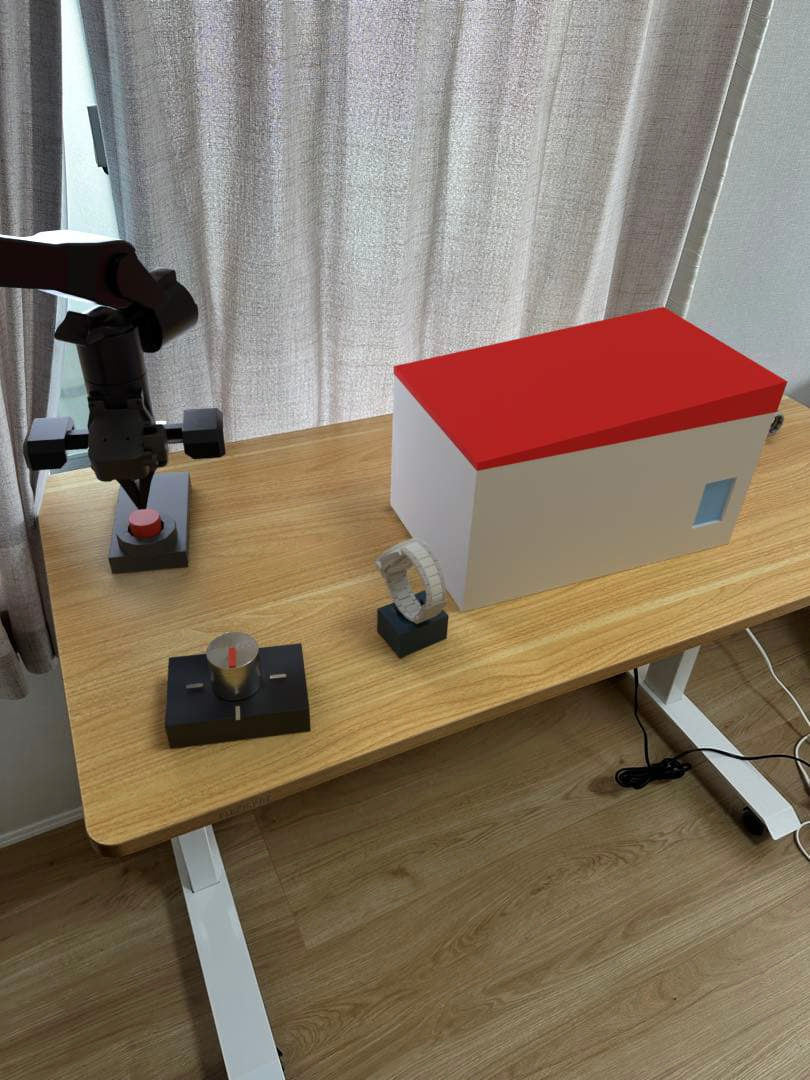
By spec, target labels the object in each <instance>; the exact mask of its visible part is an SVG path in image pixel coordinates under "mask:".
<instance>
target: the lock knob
mask: <svg viewBox="0 0 810 1080" xmlns="http://www.w3.org/2000/svg"><path fill="white" fill-rule="evenodd" d="M259 648H260V646H259V643H258V640H256V638H255V637H253V635H251V634H249V633H246V632H243V631H229V632H224V633H222V634H219V635H218V636H216V637H215V638H213V639H212V640H211V641H210V642H209V643H208V645H207V647H206V650H205V654H206V656H207V662H208V668H209V674H210V681H211V686H212V690H213V691H214V693H215V694H216V695H217V696H218V697H220V698H222V699H225V700H230V701H237V700H242V699H245V698H248V697H250V696H252V695H253V694H254V693H256V692H257V691H258V689H259V688H260V686H261V684H262V673H261V663H260V654H259Z"/></svg>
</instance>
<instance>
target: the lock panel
mask: <svg viewBox="0 0 810 1080" xmlns="http://www.w3.org/2000/svg"><path fill="white" fill-rule="evenodd" d="M259 654H260V663H261V673H262V684H261V686H260V688H259V689H258V691H257V692H256V693H254V694H253V695H252V696H250V697H248V698H245V699H242V700H237V701H230V700H225V699H222V698H220V697H218V696H217V695H216V694H215V693H214V691H213V690H212V686H211V681H210V674H209V668H208V662H207V656H206V653H198V654H197V653H196V654H187V655H179V656H170V657H168V665H167V682H166V699H165V717H164V719H165V720H164V729H165V733H166V738H167V742H168V747H169V749H170V750H173V749H179V748H188V747H195V746H202V745H212V744H217V743H219V744H220V743H226V742H235V741H243V740H251V739H258V738H259V739H260V738H264V737H265V738H266V737H274V736H282V735H289V734H297V733H305V732H311V730H312V729H311V727H312V726H311V712H310V701H309V693H308V686H307V678H306V670H305V662H304V661H305V660H304V652H303V644H302V643H300V642H299V643H290V644H282V645H271V646H262V647H259Z"/></svg>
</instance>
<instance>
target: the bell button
mask: <svg viewBox="0 0 810 1080" xmlns="http://www.w3.org/2000/svg"><path fill="white" fill-rule="evenodd" d="M128 520H129V525H130V529H131V533H132V535H133V536H134V537H138V538H147V537H152V536H154V535H157V534H159V533H160V532H161V530H162V526H161V520H160V515H159V513H158V512H157V511H156V510H154V509H144V510H143V509H142V510H137V511H135V512H133V513H132V514H131V515H130V516H129V519H128Z"/></svg>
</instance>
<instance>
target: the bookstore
mask: <svg viewBox="0 0 810 1080" xmlns="http://www.w3.org/2000/svg"><path fill="white" fill-rule="evenodd" d="M787 385H788V381H787V380H786V379H784V378H783V377H781V376H779V375H778V374H776V373H774V372H773V371H771V370H769V369H768V368H766V367H764V366H763V365H761V364H759V363H758V362H756V361H754V360H753V359H751V358H749V357H748V356H746V355H744V354H743V353H741V352H740V351H738V350H736V349H734V348H733V347H731V346H730V345H728V344H727V343H725V342H723V341H721V340H720V339H718V338H716V337H714V336H713V335H711V334H710V333H708V332H706V330H705V331H704V330H703V329H701V328H700V327H698V326H696V325H695V324H693V323H691V322H689V321H688V320H686V319H684V318H683V317H681V316H680V315H678V314H677V313H675V312H673V311H672V310H670V309H668V308H667V307H665V306H661V307H656V308H652V309H646V310H643V311H637V312H634V313H629V314H625V315H619V316H615V317H611V318H607V319H602V320H597V321H593V322H592V321H591V322H588V323H584V324H579V325H573V326H570V327H565V328H561V329H557V330H552V331H547V332H542V333H539V334H534V335H528V336H524V337H520V338H516V339H515V338H514V339H511V340H506V341H502V342H497V343H492V344H488V345H484V346H479V347H475V348H474V347H473V348H470V349H466V350H465V349H464V350H460V351H457V352H452V353H446V354H443V355H438V356H434V357H430V358H429V357H428V358H426V359H425V358H424V359H419V360H415V361H411V362H406V363H402V364H397V365H393V397H392V398H393V399H392V431H391V463H390V464H391V467H390V469H391V470H390V499H389V500H390V502H389V503H390V506H391V508H392V509H393V511H394V512H395V514H396V515H397V517H398V518H399V520H400V521H401V522H402V524H403V526H404V527H405V529H406V531H407V532H408V534H409V535H410V536H411V539H413V538H421V539H422V541H425V542H426V543H427V546H428V547H429V548H430V549H431V550H432V552H433V553H434V555H435V556H436V558H437V560H438V562H439V564H440V566H441V569H440V570H442V572H443V576H444V580H445V585H446V592H448V594H449V595H450V596H451V598H452V599H453V601H454V603H455V604H456V605H457V607H458V608H459V610H460V612H461V613H465V612H469V611H474V610H476V609H481V608H485V607H488V606H492V605H495V604H496V605H497V604H501V603H504V602H508V601H512V600H516V599H519V598H523V597H528V596H530V595H535V594H539V593H543V592H547V591H550V590H556V589H558V588H563V587H566V586H570V585H574V584H578V583H581V582H586V581H589V580H594V579H597V578H601V577H606V576H609V575H613V574H617V573H621V572H625V571H628V570H632V569H636V568H640V567H644V566H648V565H652V564H656V563H660V562H663V561H668V560H672V559H675V558H679V557H684V556H687V555H691V554H694V553H698V552H702V551H706V550H710V549H713V548H719V547H721V546H726V545H729V544H730V542H731V540H732V536H733V534H734V530H735V528H736V524H737V523H738V519H739V516H740V514H741V510H742V508H743V505H744V502H745V500H746V497H747V495H748V494H747V493H748V491H749V488H750V486H751V484H752V480H753V478H754V474H755V471H756V469H757V466H758V464H759V460H760V458H761V454H762V452H763V449H764V447H765V443H766V441H767V437H768V436H767V435H768V432H769V429H770V426H771V424H772V423H773V421H774V419H775V418H774V415H775V412H777V410H779V407H780V404H781V402H782V399H783V396H784V393H785V390H786V387H787ZM432 566H433V565H432Z"/></svg>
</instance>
